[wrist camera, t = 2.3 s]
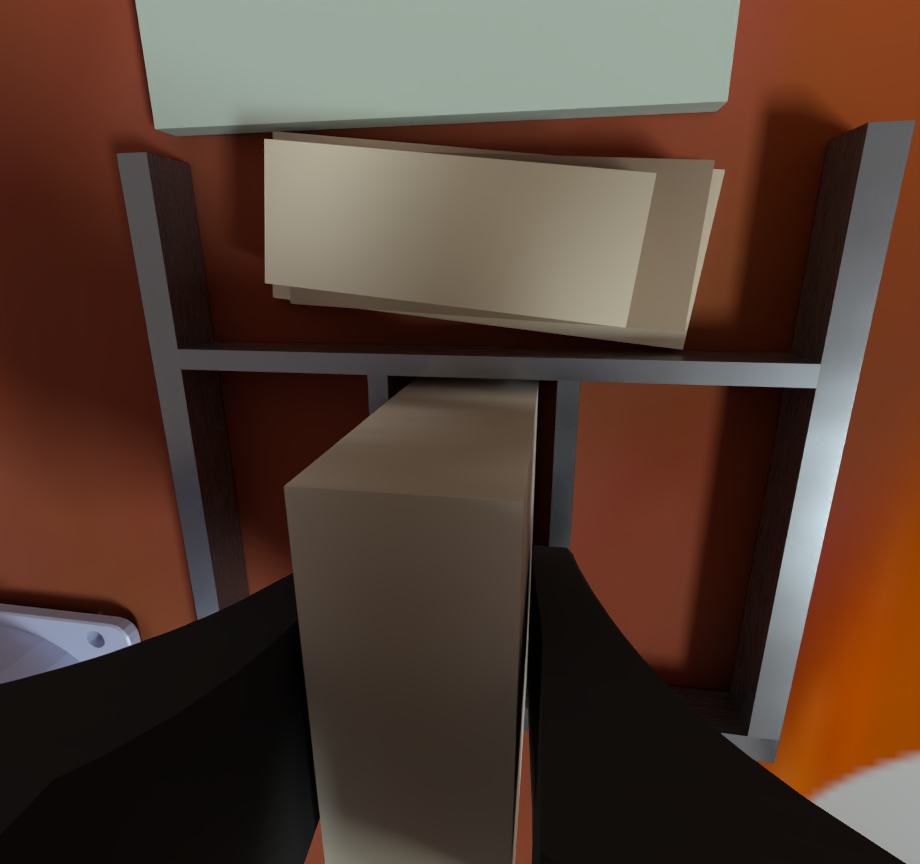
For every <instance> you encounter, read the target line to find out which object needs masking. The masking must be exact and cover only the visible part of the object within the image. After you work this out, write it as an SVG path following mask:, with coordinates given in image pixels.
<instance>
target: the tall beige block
mask: <svg viewBox="0 0 920 864" xmlns="http://www.w3.org/2000/svg"><path fill="white" fill-rule="evenodd" d="M538 392H539V380H522V379H488V378H454V377H421V376H418V377H416V378H415V379H414V380H413V381H412V382H410V383H409V384H408V385H407V386H405V387H404V388H403V389H402V390H401V391H399V392H398V393H397V394H396V395H395V396H393V397H392V398H391V399H390V400H388V401H387V402H386V403H385V404H384V405H382V406H381V407H380V408H379V409H377V410H376V411H375V412H374V413H373V414H371V415H370V416H369V417H368V418H366V419H365V420H364V421H363V422H362V423H360V424H359V425H358V426H357V427H355V428H354V429H353V430H352V431H351V432H349V433H348V434H347V435H346V436H345V437H343V438H342V439H341V440H340V441H338V442H337V443H336V444H335V445H334V446H332V447H331V448H330V449H329V450H327V451H326V452H325V453H324V454H323V455H321V456H320V457H319V458H318V459H316V460H315V461H314V462H313V463H312V464H310V465H309V466H308V467H307V468H305V469H304V470H303V471H302V472H301V473H299V474H298V475H297V476H296V477H295V478H293V479H292V480H291V481H290V482H288V483H287V484H286V485H285V486H284V494H285V503H286V512H287V521H288V530H289V539H290V548H291V557H292V567H293V576H294V585H295V594H296V603H297V612H298V621H299V630H300V639H301V649H302V658H303V667H304V676H305V685H306V694H307V703H308V712H309V721H310V731H311V740H312V749H313V758H314V767H315V776H316V785H317V794H318V804H319V813H320V822H321V831H322V840H323V849H324V858H325V864H515V855H516V839H517V824H518V808H519V792H520V777H521V761H522V746H523V730H524V715H525V699H526V683H527V668H528V644H529V619H530V593H531V568H532V543H533V518H534V493H535V467H536V442H537V417H538Z"/></svg>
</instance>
